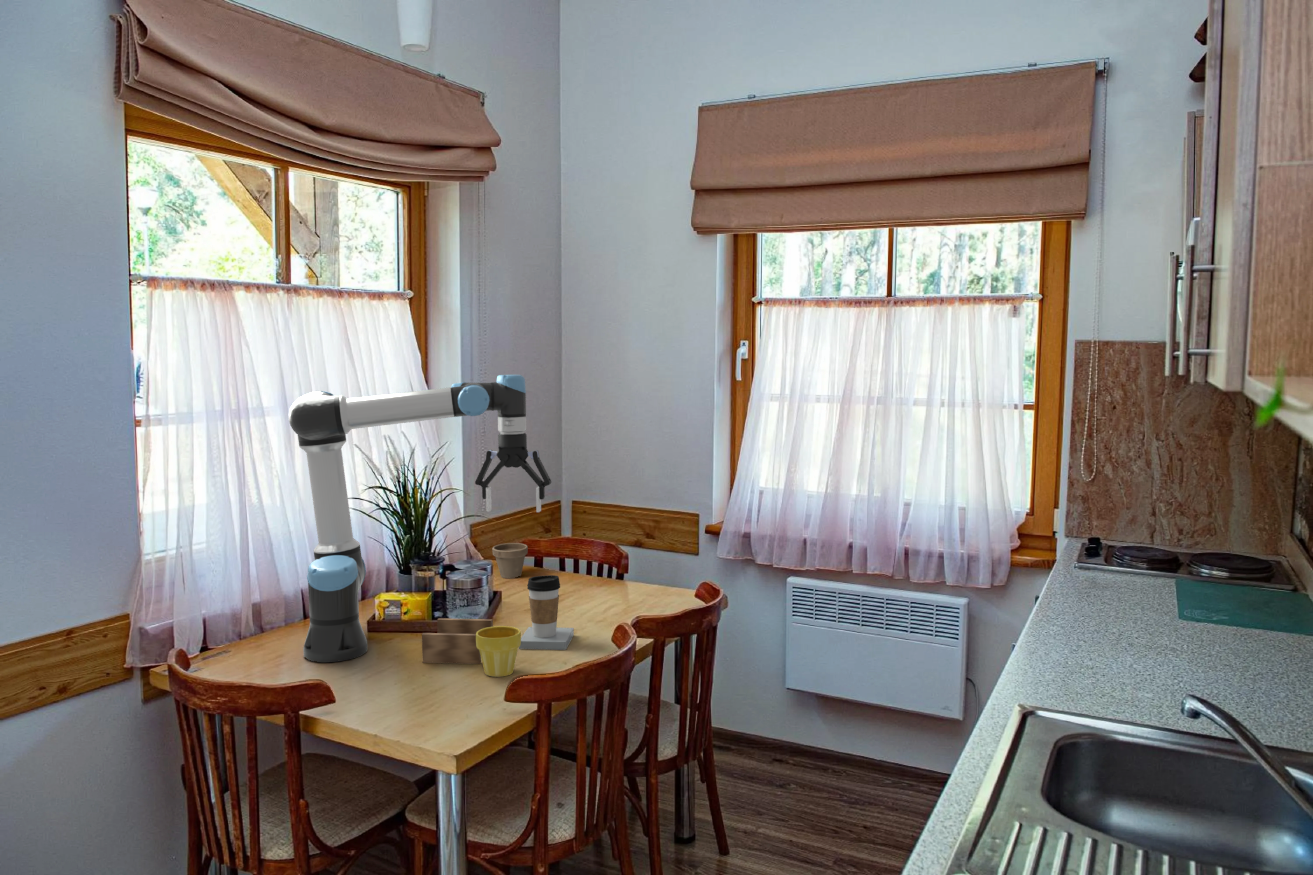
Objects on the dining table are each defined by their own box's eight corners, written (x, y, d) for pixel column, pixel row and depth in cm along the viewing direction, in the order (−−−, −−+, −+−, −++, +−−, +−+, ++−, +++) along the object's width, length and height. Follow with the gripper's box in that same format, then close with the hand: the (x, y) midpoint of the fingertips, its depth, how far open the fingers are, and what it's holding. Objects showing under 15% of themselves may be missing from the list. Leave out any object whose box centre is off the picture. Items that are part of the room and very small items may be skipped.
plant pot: (501, 661, 231) (500, 622, 230) (530, 670, 225) (529, 630, 224) (467, 673, 223) (466, 632, 222) (497, 683, 217) (496, 641, 216)
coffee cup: (554, 640, 241) (553, 582, 239) (523, 638, 243) (522, 580, 241) (565, 630, 249) (564, 574, 248) (535, 628, 251) (534, 572, 250)
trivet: (518, 648, 241) (518, 641, 241) (528, 634, 253) (528, 626, 252) (565, 649, 240) (565, 642, 240) (573, 635, 252) (573, 627, 252)
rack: (422, 662, 231) (421, 634, 230) (439, 644, 244) (438, 618, 243) (479, 663, 230) (478, 635, 229) (493, 646, 243) (492, 619, 242)
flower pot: (507, 582, 307) (506, 551, 306) (486, 576, 314) (485, 546, 313) (535, 576, 315) (534, 546, 314) (513, 570, 323) (513, 541, 322)
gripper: (462, 433, 252) (464, 513, 254) (556, 434, 250) (557, 514, 252) (470, 431, 259) (472, 508, 261) (561, 431, 257) (562, 509, 260)
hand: (513, 511), depth 257 cm, fingers open, 13 cm apart
